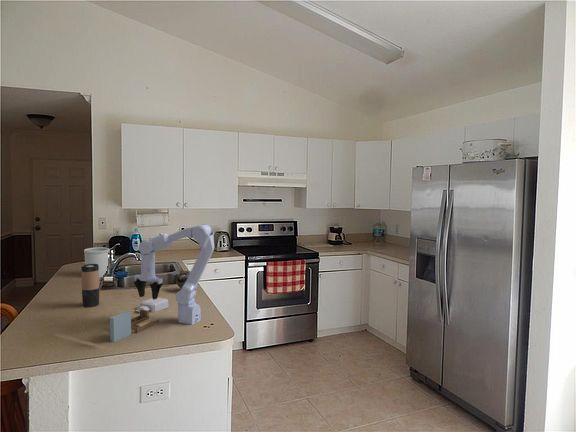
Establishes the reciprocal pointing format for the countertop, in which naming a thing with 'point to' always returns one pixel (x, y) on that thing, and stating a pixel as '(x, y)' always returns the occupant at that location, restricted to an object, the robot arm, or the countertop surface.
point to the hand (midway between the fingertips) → (148, 297)
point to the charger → (154, 304)
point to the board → (120, 326)
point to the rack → (143, 316)
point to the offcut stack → (142, 323)
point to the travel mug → (90, 285)
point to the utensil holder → (97, 258)
